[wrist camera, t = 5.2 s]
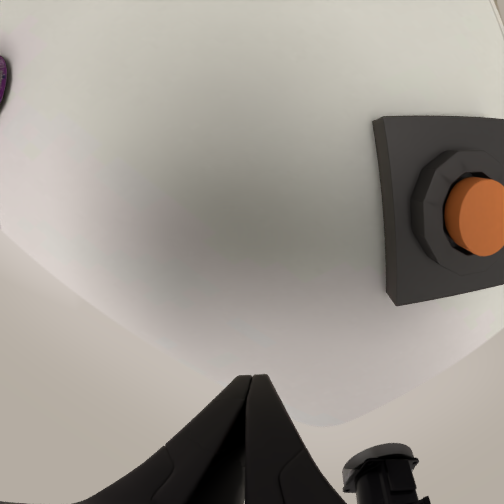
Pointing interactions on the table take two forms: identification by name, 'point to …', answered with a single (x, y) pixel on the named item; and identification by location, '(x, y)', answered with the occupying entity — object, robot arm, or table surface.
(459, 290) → the orange push button base
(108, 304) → the table surface
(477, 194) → the power button
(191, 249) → the table surface
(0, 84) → the beverage can
